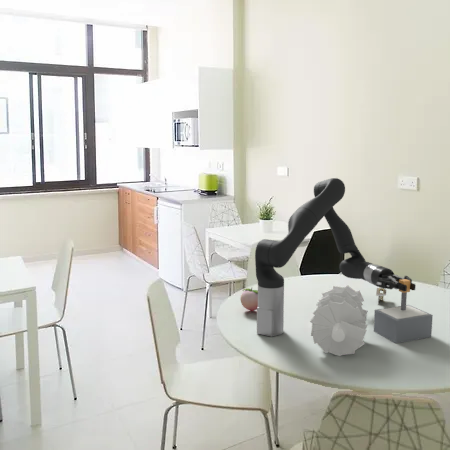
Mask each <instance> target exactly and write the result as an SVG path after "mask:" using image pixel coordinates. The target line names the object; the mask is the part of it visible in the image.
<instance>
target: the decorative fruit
mask: <svg viewBox="0 0 450 450" xmlns="http://www.w3.org/2000/svg"><path fill="white" fill-rule="evenodd" d="M239 299H240V303H241V306H242V307H243V308H244V309H246V310H249V311H250V312H254V311H257V308H258V289H253V287H250V288H248V287H247V288H244V289H242V292H241V295H240V298H239Z"/></svg>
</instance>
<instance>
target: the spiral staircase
mask: <svg viewBox="0 0 450 450" xmlns="http://www.w3.org/2000/svg"><path fill="white" fill-rule="evenodd" d="M321 295H322V297H321V298H320V299H318V302H317V303H316V306H317V307H316V309H315V310H314V311H313V312H312V314H313V317H312V318H311V319H310V321H309V323H311V332H310V336H311V337H312V339H313V344H317V345H318V347H319V348H321V350H322V351H323V352H324V353H325V354H327V353H329V354H330V353H331V354H332V355H335V356H337V357H342V356H344V355H352V354H356V351H357V350H358V349H359V348H361V347H362V346H363V345H365V342H364V339H365V336H366V333H367V328H368V324H367V322H366V319H367V316H368V310H367V309H364V308H363V306H364V305H363V302H365V298H364V297H363V295H362V293H361V290H357V291H356V290H355V289H353V288H352V287H350V286H349V285H347V284H346V286H344V287H343V286H338V285H337V286H336V285H333V287H332V289H329V290H326V291H324V292H321Z"/></svg>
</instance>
